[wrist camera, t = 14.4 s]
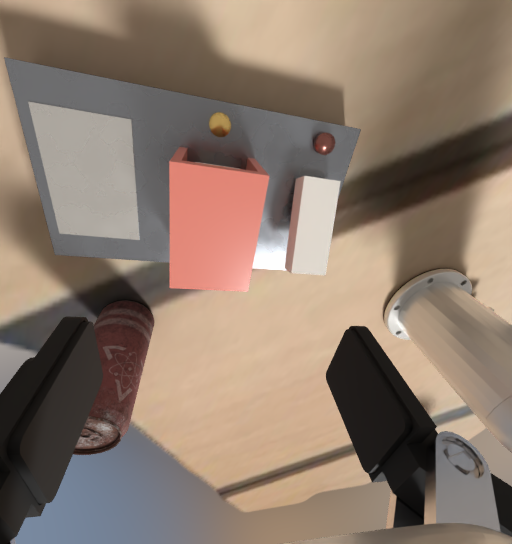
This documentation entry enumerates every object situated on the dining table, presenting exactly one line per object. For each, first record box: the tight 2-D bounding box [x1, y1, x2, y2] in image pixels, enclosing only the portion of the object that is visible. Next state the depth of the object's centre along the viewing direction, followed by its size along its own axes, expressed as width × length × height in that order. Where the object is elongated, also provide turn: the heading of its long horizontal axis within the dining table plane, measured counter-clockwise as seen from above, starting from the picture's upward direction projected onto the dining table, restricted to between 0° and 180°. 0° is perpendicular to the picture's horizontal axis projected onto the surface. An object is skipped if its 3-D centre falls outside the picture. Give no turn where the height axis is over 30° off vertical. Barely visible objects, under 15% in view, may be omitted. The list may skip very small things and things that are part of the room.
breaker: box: [284, 176, 341, 275], centre depth 23 cm, size 3×8×2 cm, turn 170°
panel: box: [4, 57, 361, 270], centre depth 23 cm, size 25×14×4 cm, turn 80°
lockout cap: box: [169, 147, 269, 292], centre depth 21 cm, size 6×9×6 cm, turn 170°
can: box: [73, 300, 154, 455], centre depth 26 cm, size 6×6×14 cm
